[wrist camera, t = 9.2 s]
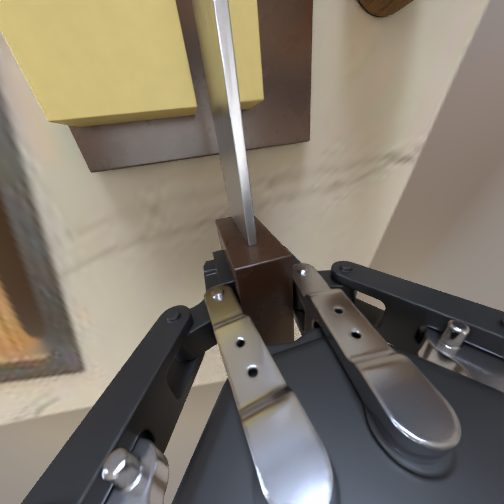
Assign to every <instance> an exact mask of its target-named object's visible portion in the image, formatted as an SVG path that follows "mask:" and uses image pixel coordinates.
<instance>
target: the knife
mask: <svg viewBox="0 0 504 504" xmlns="http://www.w3.org/2000/svg"><path fill="white" fill-rule="evenodd" d="M192 4H193V9H194V15H195V21H196V26H197V32H198V37H199V43H200V48H201V54H202V60H203V65H204V71H205V76H206V82H207V87H208V93H209V98H210V104H211V110H212V115H213V121H214V126H215V132H216V137H217V143H218V148H219V154H220V160H221V165H222V171H223V176H224V182H225V187H226V193H227V199H228V204H229V210H230V215H231V217H228V218H223V219H218V220H216V226H217V230H218V235H219V239H220V244H221V248H222V250H223V252H224V255H225V258H226V261H227V264H228V267H229V270H230V273H231V276H232V279H233V282H234V287H235V291H236V296H237V300H238V302H239V304H240V306H241V308H242V310H243V312H244V313H248V315H249V316H250V318H251V320H252V322H253V323H254V325H255V327H256V329H257V331H258V333H259V334H260V336H261V338H262V340H263V342H264V344H265V345H269V344H280V343H291V342H294V314H293V264H292V254H291V253H290V252H289V251H288V250H287V249H286V248H285V247H284V246H283V245H282V244H281V243H280V242H279V241H278V240H277V239H276V238H275V237H274V236H273V235H272V234H271V232H270V231H269V230H268V229H267V228H266V227H265V226H264V225H263V224H262V223H261V222H260V221H259V220H258V219H257V218H256V217H255V216H254V213H253V205H252V196H251V188H250V179H249V171H248V163H247V154H246V146H245V137H244V129H243V120H242V112H241V104H240V95H239V87H238V78H237V70H236V62H235V53H234V45H233V36H232V28H231V20H230V11H229V3H228V0H192Z"/></svg>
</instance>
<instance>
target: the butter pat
mask: <svg viewBox="0 0 504 504" xmlns="http://www.w3.org/2000/svg"><path fill="white" fill-rule="evenodd" d="M228 3H229V11H230V20H231V28H232V36H233V45H234V53H235V62H236V70H237V78H238V87H239V95H240V104H241V110H245V109H250V108H252V107H253V106H255V105H257V104H258V103H260V102H261V101H263V100H264V94H263V79H262V65H261V51H260V37H259V22H258V8H257V0H228Z"/></svg>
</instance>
